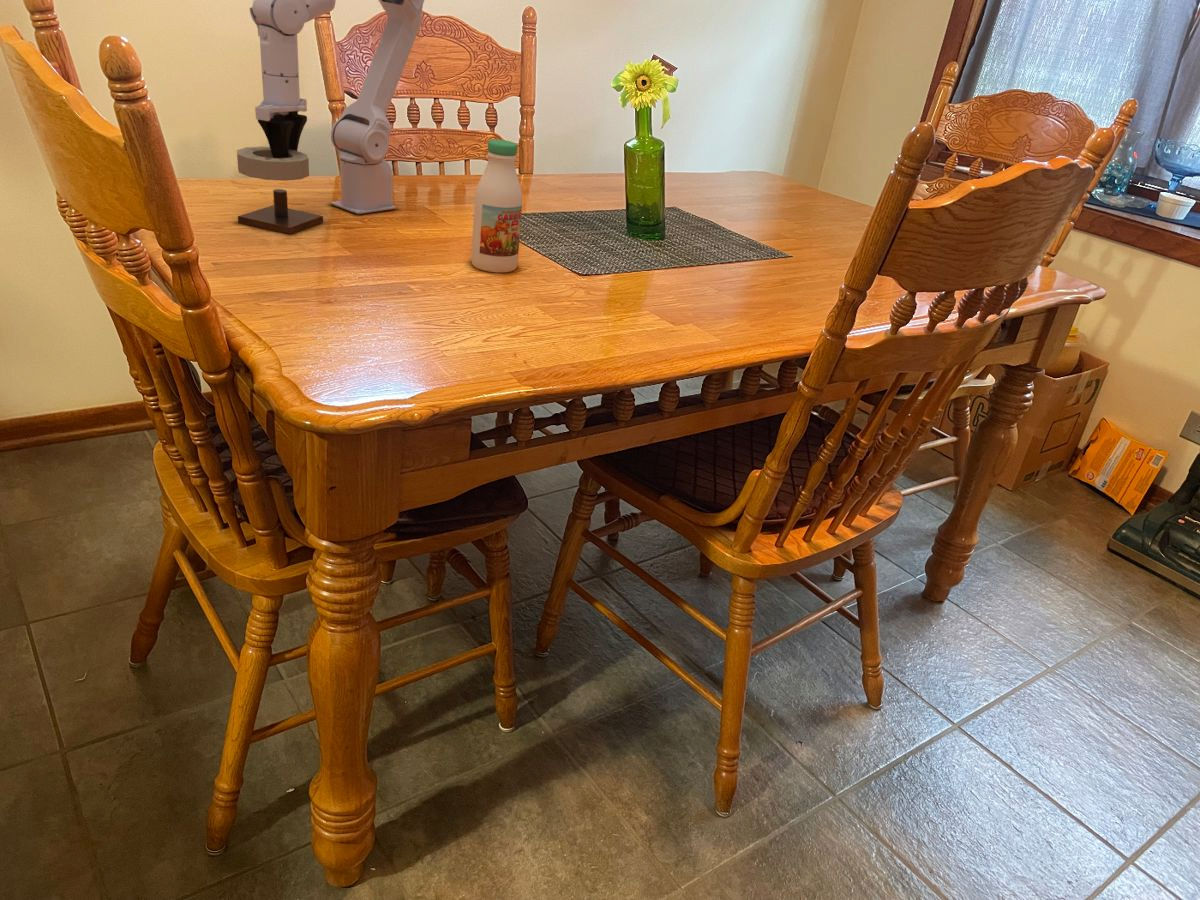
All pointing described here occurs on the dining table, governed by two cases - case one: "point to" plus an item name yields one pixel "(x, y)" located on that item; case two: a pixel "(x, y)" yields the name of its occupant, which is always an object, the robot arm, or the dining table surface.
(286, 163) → the tape roll
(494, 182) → the milk bottle
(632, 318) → the dining table surface
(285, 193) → the stand
